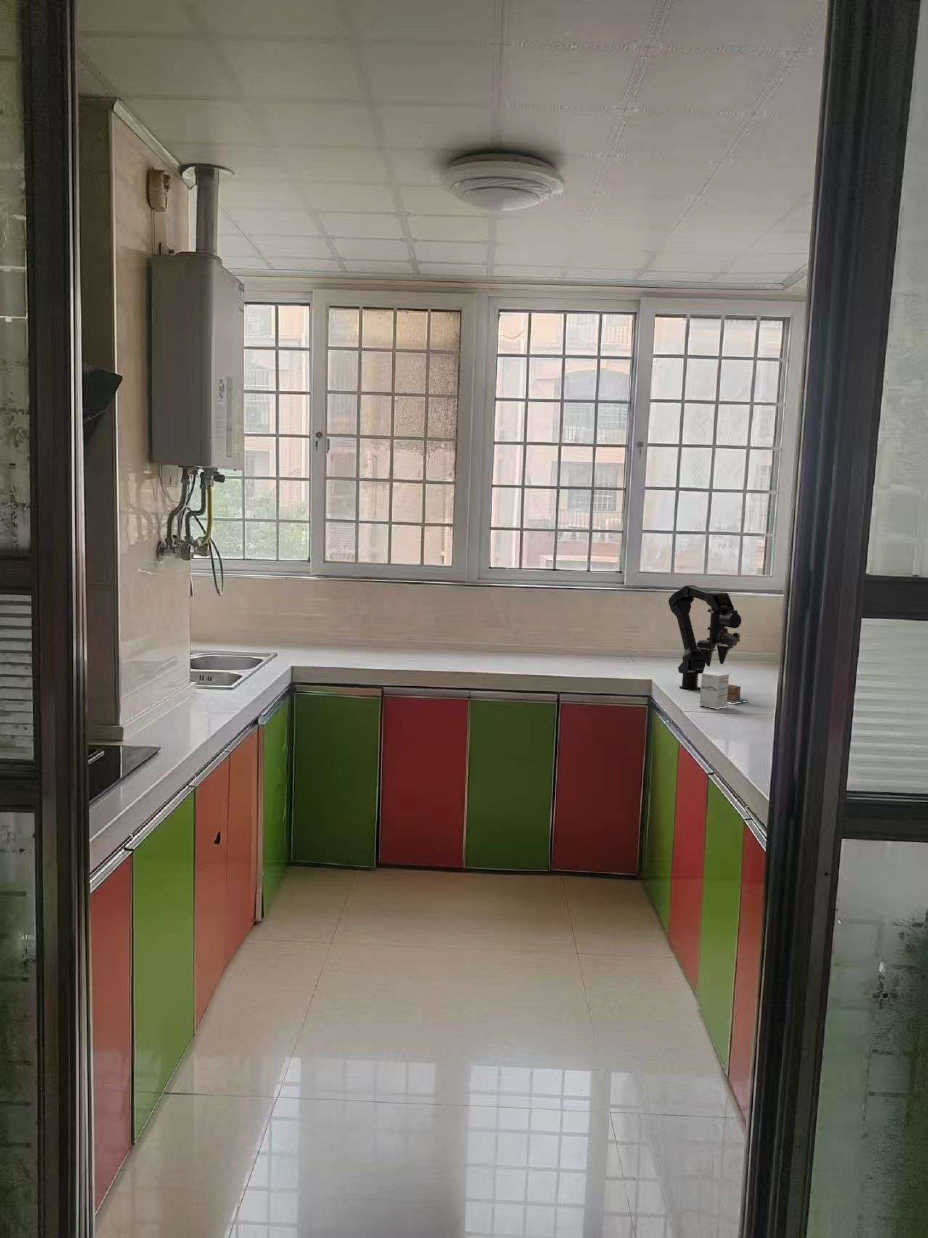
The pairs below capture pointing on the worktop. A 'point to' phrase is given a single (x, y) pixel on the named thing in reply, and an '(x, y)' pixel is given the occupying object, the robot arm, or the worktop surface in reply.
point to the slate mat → (737, 700)
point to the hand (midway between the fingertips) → (715, 665)
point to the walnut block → (733, 692)
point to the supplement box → (714, 689)
